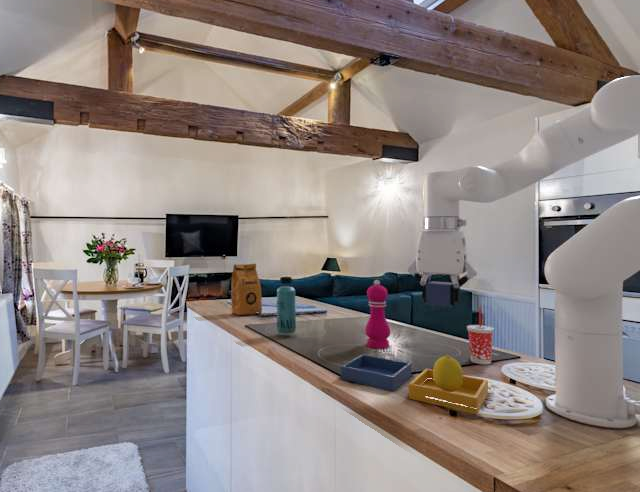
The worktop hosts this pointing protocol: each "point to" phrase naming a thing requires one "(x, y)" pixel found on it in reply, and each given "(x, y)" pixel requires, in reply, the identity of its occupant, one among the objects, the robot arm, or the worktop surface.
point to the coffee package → (245, 290)
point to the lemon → (448, 374)
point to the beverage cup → (480, 342)
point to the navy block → (438, 294)
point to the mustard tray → (465, 395)
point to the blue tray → (376, 372)
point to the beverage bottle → (286, 307)
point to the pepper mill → (377, 317)
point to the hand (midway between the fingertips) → (440, 302)
